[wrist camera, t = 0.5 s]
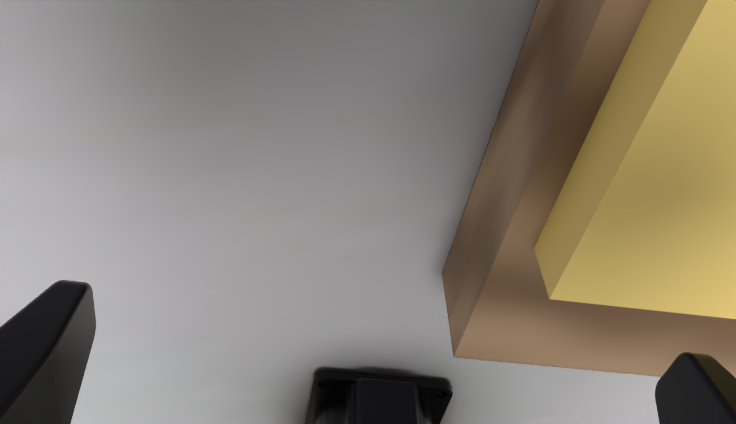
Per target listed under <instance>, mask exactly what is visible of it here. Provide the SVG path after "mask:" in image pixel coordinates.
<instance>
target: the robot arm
mask: <svg viewBox="0 0 736 424" xmlns="http://www.w3.org/2000/svg"><path fill="white" fill-rule="evenodd" d="M95 329H96V318H95V309H94V300H93V292H92V288H91V286H90V285H89V284H88V283H85V282H77V281H68V280H60V281H57V282H55V283H54V284H53V285H51V286H50V287H49V288H48V289H47V290H45V291H44V292H43V293H42V294H40V295H39V296H38V297H37V298H35V299H34V300H33V301H32V302H31V303H29V304H28V305H27V306H26V307H24V308H23V309H22V310H21V311H19V312H18V313H17V314H16V315H15V316H13V317H12V318H11V319H10V320H8V321H7V322H6V323H5V324H3V325H2V326H1V327H0V424H70V423H71V419H72V416H73V412H74V408H75V405H76V401H77V398H78V394H79V390H80V387H81V383H82V380H83V376H84V372H85V369H86V365H87V362H88V358H89V354H90V351H91V347H92V344H93V340H94V336H95ZM452 394H453V393H452V386H451V384H450V383H448V382H445V381H436V380H425V379H414V378H403V377H392V376H380V375H369V374H358V373H347V372H336V371H318V372H316V373H315V374H314V375H313V378H312V383H311V388H310V393H309V398H308V403H307V408H306V413H305V418H304V423H303V424H440V422H441V420H442V417H443V415H444V413H445V411H446V409H447V406H448V404H449V402H450V400H451V397H452ZM655 399H656V405H657V411H658V416H659V422H660V424H736V378H735V377H734V376H733V375H732V374H731V373H730V372H729V371H728V370H727V369H726V368H724V367H723V366H722V365H721V364H720V363H719V362H718V361H717V360H716V359H714V358H713V357H712V356H710V355H707V354H702V353H693V352H683V353H681V354H679V355H678V356H677V357H676V359H675V360H674V361H673V363H672V364H671V365H670V367H669V368H668V369H667V370H666V372H665V373H664V374H663V376H662V377H661V378H660V379H659V381H658V383H657V385H656V390H655Z"/></svg>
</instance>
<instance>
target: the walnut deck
mask: <svg viewBox="0 0 736 424" xmlns="http://www.w3.org/2000/svg"><path fill="white" fill-rule="evenodd" d="M650 1H651V0H539V3H538V5H537V8H536V11H535V14H534V17H533V20H532V22H531V25H530V28H529V31H528V34H527V36H526V39H525V42H524V45H523V48H522V50H521V53H520V56H519V59H518V62H517V64H516V67H515V70H514V73H513V76H512V79H511V81H510V84H509V87H508V90H507V93H506V95H505V98H504V101H503V104H502V107H501V109H500V112H499V115H498V118H497V121H496V123H495V126H494V129H493V132H492V135H491V138H490V140H489V143H488V146H487V149H486V152H485V154H484V157H483V160H482V163H481V166H480V168H479V171H478V174H477V177H476V180H475V182H474V185H473V188H472V191H471V194H470V196H469V199H468V202H467V205H466V208H465V211H464V213H463V216H462V219H461V222H460V225H459V227H458V230H457V233H456V236H455V239H454V241H453V244H452V247H451V250H450V253H449V255H448V258H447V261H446V264H445V267H444V270H443V272H442V277H443V284H444V292H445V299H446V306H447V313H448V320H449V327H450V334H451V341H452V349H453V356H454V357H457V358H468V359H478V360H489V361H499V362H510V363H521V364H531V365H542V366H552V367H563V368H573V369H584V370H595V371H605V372H616V373H626V374H637V375H648V376H658V377H662V376H663V374H664V373H665V372H666V370H667V369H668V368H669V367H670V365H671V364H672V363H673V361H674V360H675V359H676V357H677V356H678V355H679V354H681V353H683V352H693V353H702V354H707V355H710V356H712V357H713V358H714V359H716V360H717V361H718V362H719V363H720V364H721V365H722V366H723V367H724V368H726V369H727V370H728V371H729V372H730V373H731V374H732V375H733V376H734V377H735V378H736V319H729V318H720V317H710V316H701V315H692V314H682V313H673V312H664V311H655V310H645V309H636V308H627V307H618V306H608V305H599V304H590V303H580V302H571V301H562V300H553V299H549V296H548V293H547V290H546V286H545V283H544V280H543V276H542V273H541V270H540V266H539V263H538V260H537V256H536V253H535V250H534V247H535V245H536V243H537V241H538V239H539V236H540V234H541V232H542V230H543V228H544V226H545V224H546V222H547V219H548V217H549V215H550V213H551V211H552V209H553V207H554V205H555V202H556V200H557V198H558V196H559V194H560V192H561V190H562V188H563V185H564V183H565V181H566V179H567V177H568V175H569V173H570V171H571V168H572V166H573V164H574V162H575V160H576V158H577V156H578V154H579V151H580V149H581V147H582V145H583V143H584V141H585V139H586V137H587V135H588V132H589V130H590V128H591V126H592V124H593V122H594V120H595V118H596V115H597V113H598V111H599V109H600V107H601V105H602V103H603V101H604V98H605V96H606V94H607V92H608V90H609V88H610V86H611V84H612V81H613V79H614V77H615V75H616V73H617V71H618V69H619V67H620V64H621V62H622V60H623V58H624V56H625V54H626V52H627V50H628V47H629V45H630V43H631V41H632V39H633V37H634V35H635V33H636V30H637V28H638V26H639V24H640V22H641V20H642V18H643V16H644V13H645V11H646V9H647V7H648V5H649V3H650Z"/></svg>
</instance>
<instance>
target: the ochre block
mask: <svg viewBox="0 0 736 424" xmlns="http://www.w3.org/2000/svg"><path fill="white" fill-rule="evenodd" d="M534 250H535V253H536V256H537V260H538V263H539V266H540V270H541V273H542V276H543V280H544V283H545V286H546V290H547V293H548V296H549V299H553V300H562V301H571V302H580V303H590V304H599V305H608V306H618V307H627V308H636V309H645V310H655V311H664V312H673V313H682V314H692V315H701V316H710V317H720V318H729V319H736V0H651V1H650V3H649V5H648V7H647V9H646V11H645V13H644V16H643V18H642V20H641V22H640V24H639V26H638V28H637V30H636V33H635V35H634V37H633V39H632V41H631V43H630V45H629V47H628V50H627V52H626V54H625V56H624V58H623V60H622V62H621V64H620V67H619V69H618V71H617V73H616V75H615V77H614V79H613V81H612V84H611V86H610V88H609V90H608V92H607V94H606V96H605V98H604V101H603V103H602V105H601V107H600V109H599V111H598V113H597V115H596V118H595V120H594V122H593V124H592V126H591V128H590V130H589V132H588V135H587V137H586V139H585V141H584V143H583V145H582V147H581V149H580V151H579V154H578V156H577V158H576V160H575V162H574V164H573V166H572V168H571V171H570V173H569V175H568V177H567V179H566V181H565V183H564V185H563V188H562V190H561V192H560V194H559V196H558V198H557V200H556V202H555V205H554V207H553V209H552V211H551V213H550V215H549V217H548V219H547V222H546V224H545V226H544V228H543V230H542V232H541V234H540V236H539V239H538V241H537V243H536V245H535V247H534Z"/></svg>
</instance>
